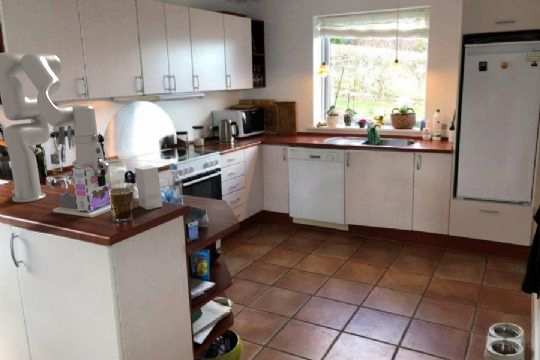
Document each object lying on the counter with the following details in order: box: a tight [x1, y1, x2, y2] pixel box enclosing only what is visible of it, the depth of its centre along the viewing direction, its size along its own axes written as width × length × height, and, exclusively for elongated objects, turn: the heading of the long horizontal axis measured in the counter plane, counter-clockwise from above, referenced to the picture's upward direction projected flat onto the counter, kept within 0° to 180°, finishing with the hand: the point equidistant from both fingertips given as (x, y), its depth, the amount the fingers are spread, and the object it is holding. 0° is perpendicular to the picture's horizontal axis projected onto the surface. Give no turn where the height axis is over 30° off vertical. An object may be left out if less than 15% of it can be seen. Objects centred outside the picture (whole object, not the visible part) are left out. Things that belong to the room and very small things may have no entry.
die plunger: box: [67, 182, 75, 196], centre depth 177 cm, size 6×6×8 cm
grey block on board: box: [52, 192, 112, 218], centre depth 176 cm, size 20×15×6 cm
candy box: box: [71, 161, 112, 212], centre depth 173 cm, size 14×6×16 cm, turn 162°
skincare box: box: [134, 164, 163, 210], centre depth 175 cm, size 8×7×16 cm
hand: (92, 185), depth 172 cm, fingers open, 9 cm apart
